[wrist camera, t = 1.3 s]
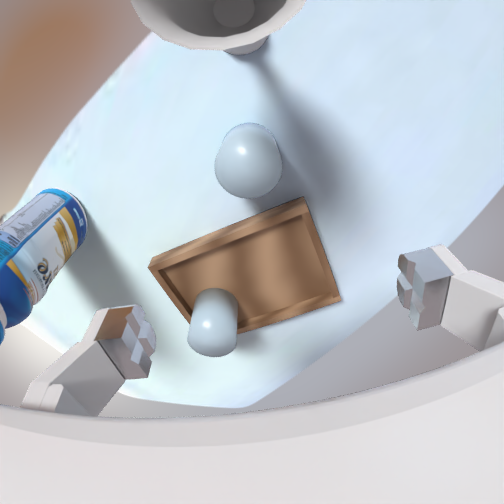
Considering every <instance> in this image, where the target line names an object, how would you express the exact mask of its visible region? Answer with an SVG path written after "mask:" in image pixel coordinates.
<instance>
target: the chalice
mask: <svg viewBox="0 0 504 504" xmlns="http://www.w3.org/2000/svg"><path fill="white" fill-rule="evenodd" d="M305 2H306V0H131V4H132V6H133V7H134V9H135V11H136V12H137V14H138V16H139V18H140V19H141V21H142V23H143V24H144V25H145V26H147V27H148V28H149V29H150V30H152V31H153V32H154V33H155V34H157V35H158V36H159V37H160V38H162V39H163V40H165V41H168V42H171V43H174V44H177V45H180V46H183V47H186V48H189V49H200V50H223V51H225V52H228V53H230V54H236V55H243V54H249V53H251V52H253V51H255V50H257V49H259V48H260V47H261V46H262V45H263V44H264V42H265V40H266V38H267V37H268V35H269V34H271V33H273V32H275V31H277V30H279V29H281V28H282V27H283V26H284V25H285V24H286V23H287V22H288V21H289V20H290V19H291V18H292V17H294V16H295V15H296V14H297V13H298V12H299V11H300V10H301V9H302V7H303V5H304V4H305Z"/></svg>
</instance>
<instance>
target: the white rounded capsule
mask: <svg viewBox="0 0 504 504" xmlns="http://www.w3.org/2000/svg"><path fill="white" fill-rule="evenodd" d="M237 319H238V301H237V299H236V297H235V296H234V295H233V294H232V293H230V292H229V291H227V290H224V289H221V288H208V289H205V290H203V291H201V292H200V293H199V294H198V295H197V297H196V299H195V304H194V308H193V313H192V318H191V322H190V327H189V332H188V337H187V340H188V343H189V345H190V347H191V348H192V349H193V350H194V351H196V352H197V353H199V354H202V355H204V356H209V357H221V356H225V355H227V354H229V353H231V352H232V351H233V350H234V348H235V346H236V338H237Z"/></svg>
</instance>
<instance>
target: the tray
mask: <svg viewBox="0 0 504 504" xmlns="http://www.w3.org/2000/svg"><path fill="white" fill-rule="evenodd" d="M148 269H149V270H150V271H151V273H152V274H153V276H154V277H155V278H156V280H157V281H158V283H159V284H160V285H161V287H162V288H163V290H164V291H165V292H166V294H167V295H168V296H169V298H170V299H171V300H172V302H173V303H174V304H175V306H176V307H177V308H178V310H179V311H180V312H181V314H182V315H183V316H184V318H185V319H186V320H187V322H188V323H189V324H190V322H191V318H192V313H193V308H194V304H195V299H196V297H197V295H198V294H199V293H200V292H201V291H203V290H205V289H208V288H221V289H224V290H227V291H229V292H230V293H232V294H233V295H234V296H235V297H236V299H237V301H238V319H237V334H240V333H244V332H247V331H250V330H254V329H257V328H260V327H263V326H267V325H270V324H273V323H276V322H279V321H282V320H286V319H289V318H292V317H295V316H298V315H301V314H304V313H307V312H310V311H313V310H316V309H318V308H321V307H324V306H327V305H330V304H333V303H336V302H338V301H341V298H340V295H339V292H338V289H337V286H336V283H335V280H334V277H333V274H332V272H331V269H330V266H329V263H328V260H327V258H326V255H325V252H324V249H323V247H322V244H321V241H320V238H319V236H318V233H317V230H316V228H315V225H314V223H313V220H312V217H311V215H310V212H309V210H308V207H307V204H306V202H305V199H304V197H301V198H298V199H295V200H293V201H290V202H288V203H285V204H282V205H280V206H277V207H275V208H272V209H270V210H267V211H265V212H262V213H260V214H257V215H254V216H252V217H249V218H247V219H244V220H242V221H239V222H237V223H234V224H232V225H230V226H227V227H225V228H222V229H220V230H217V231H215V232H212V233H210V234H207V235H205V236H203V237H200V238H198V239H195V240H193V241H191V242H188V243H186V244H183V245H181V246H179V247H176V248H174V249H172V250H169V251H167V252H164V253H162V254H160V255H157V256H155V257H153V258H152V260H151V262H150V264H149V266H148Z"/></svg>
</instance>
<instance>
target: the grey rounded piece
mask: <svg viewBox="0 0 504 504" xmlns="http://www.w3.org/2000/svg"><path fill="white" fill-rule="evenodd" d="M215 174H216V177H217V180H218V182H219V183H220V185H221V186H222V187H223V188H224V189H225V190H226V191H227V192H229V193H230V194H232V195H234V196H236V197H240V198H246V199H251V198H257V197H261V196H263V195H265V194H267V193H268V192H270V191H271V190H272V189H273V188H274V187H275V186H276V185H277V183H278V182H279V180H280V177H281V174H282V159H281V156H280V153H279V150H278V147H277V144H276V141H275V138H274V137H273V135H272V134H271V132H270V131H269V130H268V129H266V128H265V127H263V126H261V125H259V124H255V123H244V124H240V125H237V126H235V127H234V128H232V129H231V130H230V131H229V132H228V133H227V134H226V136H225V137H224V140H223V142H222V144H221V146H220V149H219V151H218V153H217V156H216V159H215Z"/></svg>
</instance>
